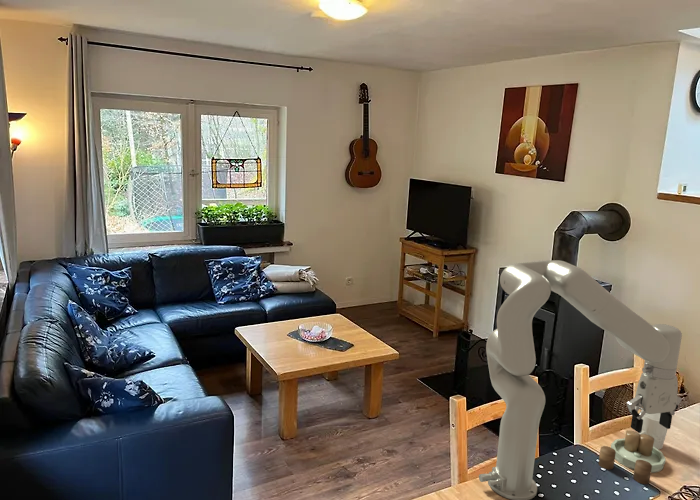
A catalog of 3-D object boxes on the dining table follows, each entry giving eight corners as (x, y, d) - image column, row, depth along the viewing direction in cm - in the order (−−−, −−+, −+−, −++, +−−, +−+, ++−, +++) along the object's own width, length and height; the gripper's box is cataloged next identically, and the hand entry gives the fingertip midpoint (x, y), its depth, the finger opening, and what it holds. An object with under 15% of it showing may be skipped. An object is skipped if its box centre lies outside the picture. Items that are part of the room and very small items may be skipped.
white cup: (668, 452, 163) (673, 422, 161) (641, 448, 165) (645, 419, 163) (659, 439, 171) (664, 410, 169) (633, 435, 172) (637, 407, 170)
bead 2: (640, 485, 146) (643, 468, 145) (629, 476, 150) (632, 460, 149) (652, 483, 147) (655, 467, 146) (641, 474, 151) (644, 458, 150)
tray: (635, 475, 151) (638, 456, 149) (600, 448, 164) (603, 430, 163) (674, 469, 154) (678, 450, 153) (637, 443, 168) (640, 426, 166)
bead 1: (605, 470, 152) (607, 454, 152) (595, 462, 156) (597, 446, 155) (616, 468, 154) (618, 453, 153) (606, 460, 157) (608, 445, 156)
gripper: (644, 379, 136) (635, 439, 140) (697, 373, 141) (686, 432, 144) (622, 367, 144) (614, 424, 147) (673, 362, 148) (664, 418, 151)
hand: (650, 428), depth 146 cm, fingers open, 9 cm apart
